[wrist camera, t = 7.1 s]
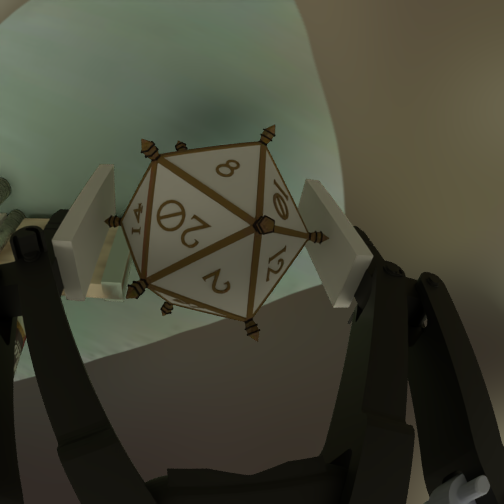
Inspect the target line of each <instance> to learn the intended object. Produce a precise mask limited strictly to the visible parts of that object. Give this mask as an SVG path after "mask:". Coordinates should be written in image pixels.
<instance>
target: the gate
mask: <svg viewBox="0 0 504 504" xmlns="http://www.w3.org/2000/svg"><path fill="white" fill-rule="evenodd" d="M48 221H49V219H39V218H24V219H23V221H22V222H21V224H20V225H19V226H18V228H17V229H16V231H17V230H18V229H20V228H23V227H25V226H31V225H33V226H38V227H41V228H42V230H44V227H45V226H46V224H48ZM9 241H10V239H9ZM9 241H8V242H7V244H6V245H5V247H4V248H3V250H2V251H1V253H0V264H5V263H10V262H14V261H15V259H14V255H13V252H12V249H11V245H10V242H9ZM131 263H132V256H131V253H130V251H129V248H128V245H127V242H126V239H125V237H124V234H123V231H122V228H121V226H117V227H116V228H114V227H111V228H109V231H108V233H107V236H106V239H105V241H104V244H103V247H102V249H101V252H100V255H99V258H98V261H97V264H96V267H95V270H94V273H93V276H92V279H91V282H90V285H89V288H88V291H87V294H86V297H92V298H104V300H105V301H119V302H124V297H125V292H126V287H127V282H128V277H129V273H130V268H131ZM62 295H65V292H64V289H63V292H62Z"/></svg>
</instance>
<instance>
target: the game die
mask: <svg viewBox="0 0 504 504" xmlns="http://www.w3.org/2000/svg"><path fill="white" fill-rule="evenodd" d="M263 130H264V131H263V133H262V134H260V135H261V139H260V141H258V142H247V143H237V144H228V145H220V146H212V147H204V148H196V149H189V150H187V147H186V144H185V143H183V142H180V141H178V142H177V144H176V145H175V148H176V150H177V151H176V152H170V153H164V154H159V153H158V150H159V149H158V148H157V147H156V146H154V145H155V143H154V142H153V141H151V142H150V141H147V140H144V139H141V143H142V150H141V153H144V154H145V158H147V157H148V158H150V159H151V160H152V161H151V163H150V165H149V167H148V169H147V170H146V172H145V174H144V176H143V178H142V180H141V182H140V183H139V185H138V187H137V189H136V191H135V193H134V195H133V197H132V199H131V201H130V203H129V205H128V207H127V209H126V211H125V213H124V215H123V217H122V218H118V217H117V216H115V217H114V216H112V215H111V216H110V217H109V218H107V219H106V220H105V221H104V222H105V223H106V224H107V225H108V226H109V228H111V227H114V228H116V227H117V226H121V228H122V231H123V234H124V237H125V239H126V242H127V245H128V248H129V251H130V253H131V256H132V259H133V262H134V264H135V267H136V269H137V272H138V275H139V277H140V280H139V281H133V284H131V285H129V284H128V291H127V295H126V299H128V298H136V299H138V298H139V296H140V295H142V294H143V293H144V291H145V288H148V289H150V290H151V291H152V292H154V293H155V294H157V295H158V296H160V297H161V298H162V299H164V300H165V301H167V302H164V304H163V306H162V307H161V309H160V310H161V311H162V315H163V316H164V315H166V314H171V313H172V312H171V310H173V305H176V306H180V307H184V308H188V309H192V310H196V311H200V312H204V313H208V314H213V315H217V316H221V317H225V318H230V319H234V320H239V321H243V322H245V326H246V328H245V330H246V331H247V336H250V337H251V338H253V339H254V340H256V341H258V337H259V331H260V329H258V327H257V324H255V322H254V321H253V317H254V316H255V314H256V313H257V312H258V310H259V309H260V307H261V306H262V305H263V303H264V302H265V301H266V299H267V298H268V296H269V295H270V294H271V292H272V291H273V290H274V288H275V287H276V285H277V284H278V283H279V281H280V280H281V278H282V277H283V275H284V274H285V273H286V271H287V270H288V268H289V267H290V266H291V264H292V263H293V261H294V260H295V259H296V257H297V256H298V254H299V253H300V251H301V250H302V248H303V247H304V246H305V244H306V243H307V241H312V242H314V243H319V244H321V243H322V242H324V241H326V240H328V239H329V237H327V236H326V235H324V234H323V233H322V231H320V232H316V231H314V232H312V233H310V232H308V230H307V228H306V225H305V223H304V221H303V219H302V217H301V215H300V213H299V211H298V208H297V206H296V204H295V202H294V200H293V198H292V196H291V194H290V192H289V190H288V188H287V186H286V184H285V182H284V180H283V178H282V176H281V174H280V172H279V170H278V168H277V166H276V164H275V162H274V160H273V158H272V156H271V154H270V152H269V150H268V148H267V144H268V143H269V142H270V141H272V140H271V139H272V138H273V137H275V136H276V135H275V125H273V126H271V127H268V128H266V129H263Z"/></svg>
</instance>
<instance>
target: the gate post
mask: <svg viewBox="0 0 504 504" xmlns="http://www.w3.org/2000/svg"><path fill="white" fill-rule="evenodd" d="M24 218H26V217H25V215H24V213H23V212H21V211H20V210H13V211H11V213H10V214H9V215H8V216H7V218H6V219H5V220H4V221H3V223H2V224H1V225H0V253H1V251H2V250H3V248H4V247H5V245H6V244H7V242H8V241H9V239H10V237H11V236H12V234H13V233H14V232H15V231H16V229H17V228H18V226H19V225H20V224H21V222H22V221H23V219H24Z"/></svg>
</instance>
